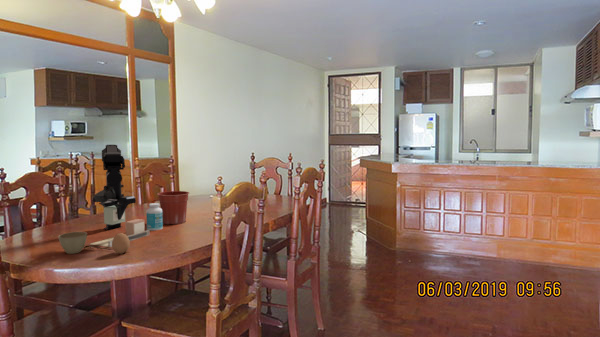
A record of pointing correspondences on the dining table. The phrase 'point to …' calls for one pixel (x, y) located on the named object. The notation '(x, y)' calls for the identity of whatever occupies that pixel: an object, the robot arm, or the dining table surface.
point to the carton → (134, 226)
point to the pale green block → (112, 215)
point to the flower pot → (173, 206)
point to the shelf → (109, 241)
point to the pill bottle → (154, 217)
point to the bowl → (73, 241)
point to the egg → (120, 243)
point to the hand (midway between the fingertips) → (115, 219)
